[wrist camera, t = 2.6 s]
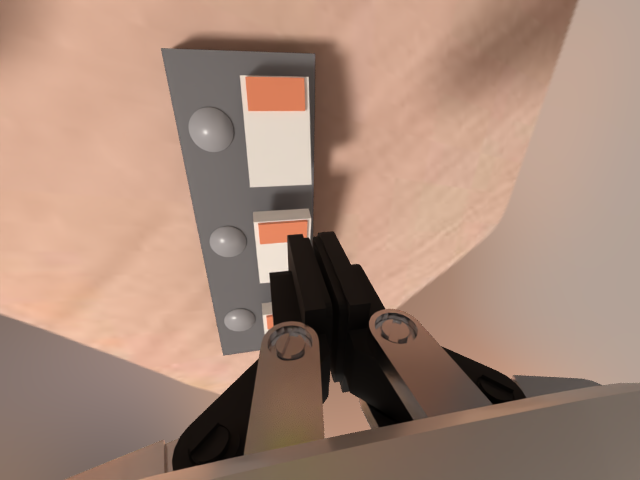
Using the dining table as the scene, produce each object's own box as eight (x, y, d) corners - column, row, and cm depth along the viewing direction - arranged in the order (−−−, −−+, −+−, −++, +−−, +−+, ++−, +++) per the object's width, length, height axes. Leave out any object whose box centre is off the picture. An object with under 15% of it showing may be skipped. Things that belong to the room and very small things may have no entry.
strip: (168, 49, 19) (157, 47, 17) (309, 54, 21) (317, 53, 18) (224, 340, 32) (222, 361, 29) (308, 328, 33) (312, 347, 31)
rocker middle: (252, 211, 21) (253, 224, 20) (308, 208, 22) (311, 220, 21) (259, 272, 26) (260, 285, 24) (305, 268, 26) (308, 280, 25)
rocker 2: (240, 79, 18) (239, 74, 17) (305, 80, 19) (309, 76, 18) (250, 185, 20) (249, 187, 19) (308, 182, 21) (312, 184, 20)
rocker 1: (261, 303, 26) (262, 317, 24) (308, 297, 26) (310, 311, 25) (265, 342, 30) (266, 355, 29) (305, 336, 30) (308, 349, 29)
